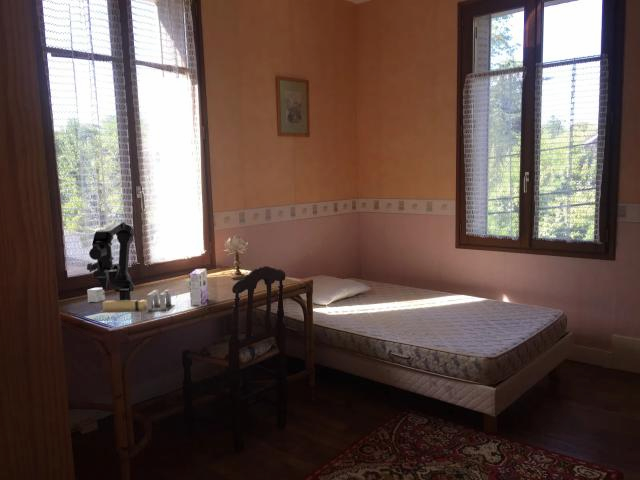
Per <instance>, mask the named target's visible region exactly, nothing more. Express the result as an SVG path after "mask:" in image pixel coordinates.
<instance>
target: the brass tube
mask: <svg viewBox="0 0 640 480" xmlns="http://www.w3.org/2000/svg"><path fill="white" fill-rule="evenodd" d="M147 306H148V305H147V299H141V298H140V299H131V300H119V299H117V300H116V299H115V300H113V299H111V300H106V299H105V300H103V302H102V310H103V311H105V310H144V309H146V308H147Z"/></svg>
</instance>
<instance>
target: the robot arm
mask: <svg viewBox="0 0 640 480" xmlns="http://www.w3.org/2000/svg"><path fill="white" fill-rule="evenodd" d="M114 236H116V240H117V242H118V243H119V250H118V251H119V253H118V254H119V255H118V263H114V262H113V260H114V259H115V258H114V257H113V253H112V246H113V243H112V241H113V239H114ZM134 236H135V230H134V229H133V227H132V226H130V225H129V224H127V223H126V222H125V221H122V220H121V221H114V222H113V223H112V224H111V225H109V226H107V227H106V228H103V229H97V230H96V231H95V233H94V235H93V239H92V244H91V245H92V248H91V249H90V250H89V253H88V255H89V257H90V258H91V259H92V260H94V261H96V262H94V263H93V262H90V263H87V266H86V270H87V271H89V273H92V278H94V279H96V280H98V282H99V283H100V285H101V286H100V287H101V288H103V290H104V291H106V290H107V287H108V286H107V285H108V282H109V283H110V286H112V287H113V289H114V293H118V300H132V294H131V292H133V291H135V284H134V283H133V281H132V277H131V275H130V273H129V262H130V261H129V260H130V248H131V247H130V245H131V243H132V242H133V241H134Z"/></svg>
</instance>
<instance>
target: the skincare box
mask: <svg viewBox="0 0 640 480" xmlns="http://www.w3.org/2000/svg"><path fill="white" fill-rule="evenodd" d="M86 291H87V292H86V293H87V303H88V304H89V303H98V302H101V301H106V292H105V290H103V288H102V287H93V288H89V289H87V290H86Z"/></svg>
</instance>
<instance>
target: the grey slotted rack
mask: <svg viewBox="0 0 640 480" xmlns="http://www.w3.org/2000/svg"><path fill="white" fill-rule="evenodd" d="M159 292H160V291H159V289H153V290H152V291H151V292H149V293H148V294H146V300H147V308H146V309H144V310H105V311H103V309H101V310H99V311H98V312H97V313H102V314H103V313H106V314H107V313H142V312H143V313H147V312H149V313H150V312H151V313H152V312H169V311H171V310H172V309H173V308H174V307H175V306H176V304H172V293H171V289H170V288H169V289H165V290H164V291H163V292H161V293H160V294H159Z"/></svg>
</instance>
